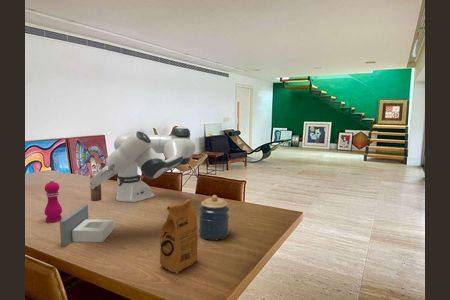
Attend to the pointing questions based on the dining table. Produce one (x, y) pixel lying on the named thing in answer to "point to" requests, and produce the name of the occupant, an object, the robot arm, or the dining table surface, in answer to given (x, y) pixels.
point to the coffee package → (179, 238)
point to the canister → (213, 218)
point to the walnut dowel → (95, 192)
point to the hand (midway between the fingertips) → (94, 186)
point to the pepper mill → (52, 202)
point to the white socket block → (92, 230)
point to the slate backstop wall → (72, 224)
